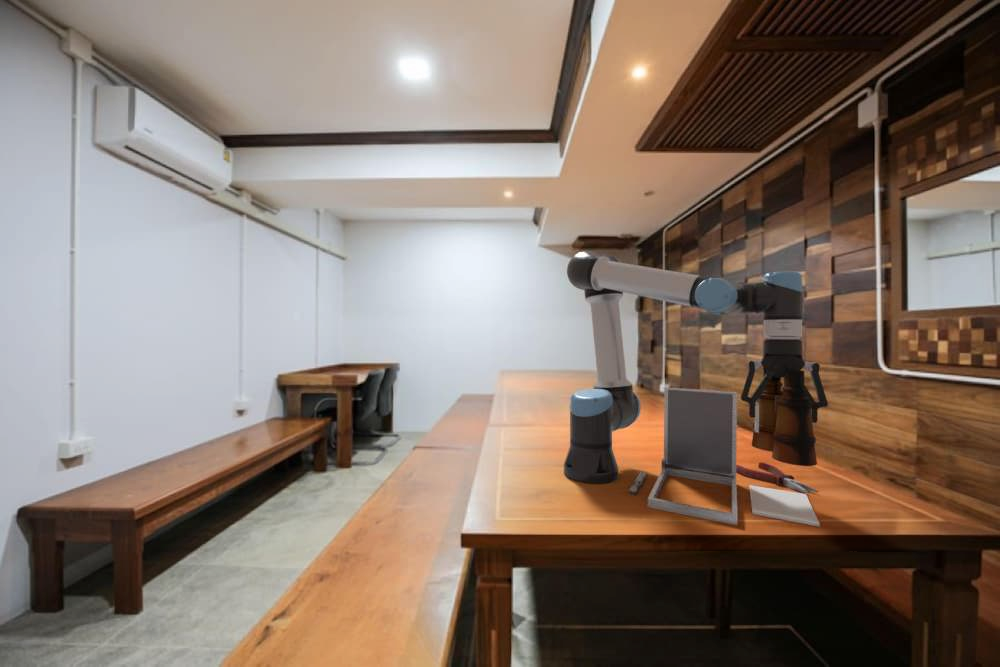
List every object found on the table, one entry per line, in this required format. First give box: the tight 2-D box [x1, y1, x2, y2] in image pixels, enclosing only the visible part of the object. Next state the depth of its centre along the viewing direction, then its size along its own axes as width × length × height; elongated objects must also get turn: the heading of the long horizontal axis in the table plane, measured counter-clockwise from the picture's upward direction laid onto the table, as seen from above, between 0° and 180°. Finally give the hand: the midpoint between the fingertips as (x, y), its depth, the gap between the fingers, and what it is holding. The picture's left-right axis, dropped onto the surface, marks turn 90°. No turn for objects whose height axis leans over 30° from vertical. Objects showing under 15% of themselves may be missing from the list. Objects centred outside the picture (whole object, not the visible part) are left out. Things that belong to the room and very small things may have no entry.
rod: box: [628, 471, 647, 496], centre depth 109 cm, size 2×14×2 cm, turn 151°
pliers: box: [736, 461, 819, 495], centre depth 113 cm, size 12×20×3 cm, turn 15°
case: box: [647, 387, 738, 526], centre depth 103 cm, size 18×27×24 cm
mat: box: [748, 484, 821, 527], centre depth 97 cm, size 12×18×1 cm, turn 151°
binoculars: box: [751, 366, 818, 467], centre depth 97 cm, size 18×8×20 cm, turn 172°
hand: (781, 433), depth 97 cm, fingers closed on binoculars, 9 cm apart
